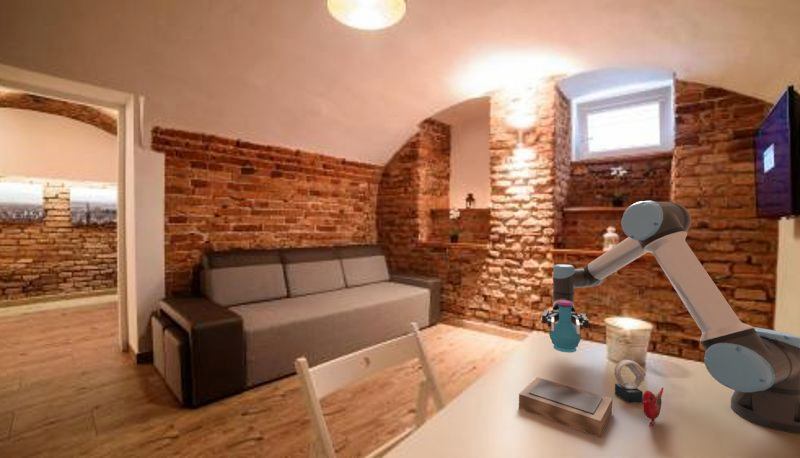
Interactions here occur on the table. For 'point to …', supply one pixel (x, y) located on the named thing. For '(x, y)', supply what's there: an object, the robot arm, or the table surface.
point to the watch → (626, 389)
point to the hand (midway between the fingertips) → (565, 327)
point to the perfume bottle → (565, 330)
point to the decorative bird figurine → (652, 405)
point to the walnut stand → (567, 405)
